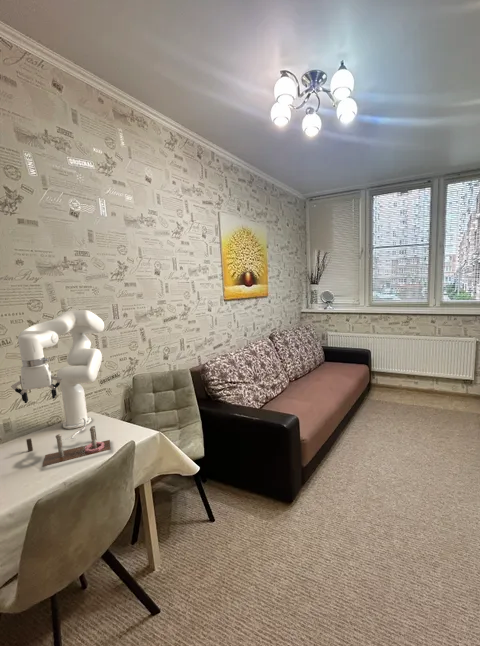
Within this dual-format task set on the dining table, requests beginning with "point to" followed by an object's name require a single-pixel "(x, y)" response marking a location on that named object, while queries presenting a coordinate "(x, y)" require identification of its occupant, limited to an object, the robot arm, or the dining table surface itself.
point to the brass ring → (29, 445)
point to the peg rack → (73, 450)
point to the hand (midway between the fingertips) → (40, 399)
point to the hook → (78, 431)
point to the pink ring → (96, 444)
